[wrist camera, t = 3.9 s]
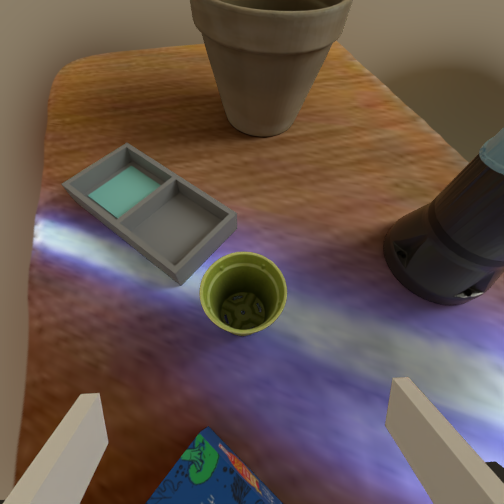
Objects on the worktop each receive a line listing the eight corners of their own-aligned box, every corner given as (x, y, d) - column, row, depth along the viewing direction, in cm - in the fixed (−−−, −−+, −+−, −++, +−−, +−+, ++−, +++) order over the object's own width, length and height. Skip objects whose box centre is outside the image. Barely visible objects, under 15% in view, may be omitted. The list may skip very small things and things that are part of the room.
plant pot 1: (260, 72, 67) (269, -58, 48) (340, 118, 59) (388, -17, 40) (180, 112, 57) (151, -30, 38) (262, 173, 49) (276, 31, 30)
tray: (133, 159, 50) (125, 141, 46) (236, 228, 43) (236, 213, 39) (73, 200, 44) (59, 182, 41) (181, 285, 38) (175, 273, 34)
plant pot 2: (199, 294, 37) (188, 266, 30) (260, 272, 39) (265, 241, 32) (221, 361, 33) (215, 348, 25) (288, 332, 35) (302, 312, 27)
